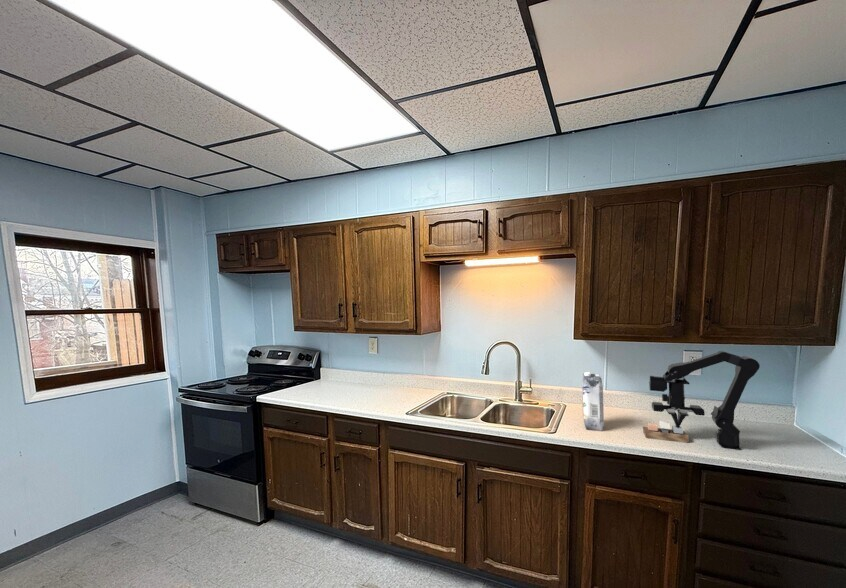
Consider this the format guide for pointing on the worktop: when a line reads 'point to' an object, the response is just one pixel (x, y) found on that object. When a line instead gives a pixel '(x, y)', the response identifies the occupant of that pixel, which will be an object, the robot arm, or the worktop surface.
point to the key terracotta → (652, 427)
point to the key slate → (677, 430)
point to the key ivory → (664, 426)
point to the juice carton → (592, 401)
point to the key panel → (666, 435)
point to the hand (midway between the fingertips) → (677, 427)
